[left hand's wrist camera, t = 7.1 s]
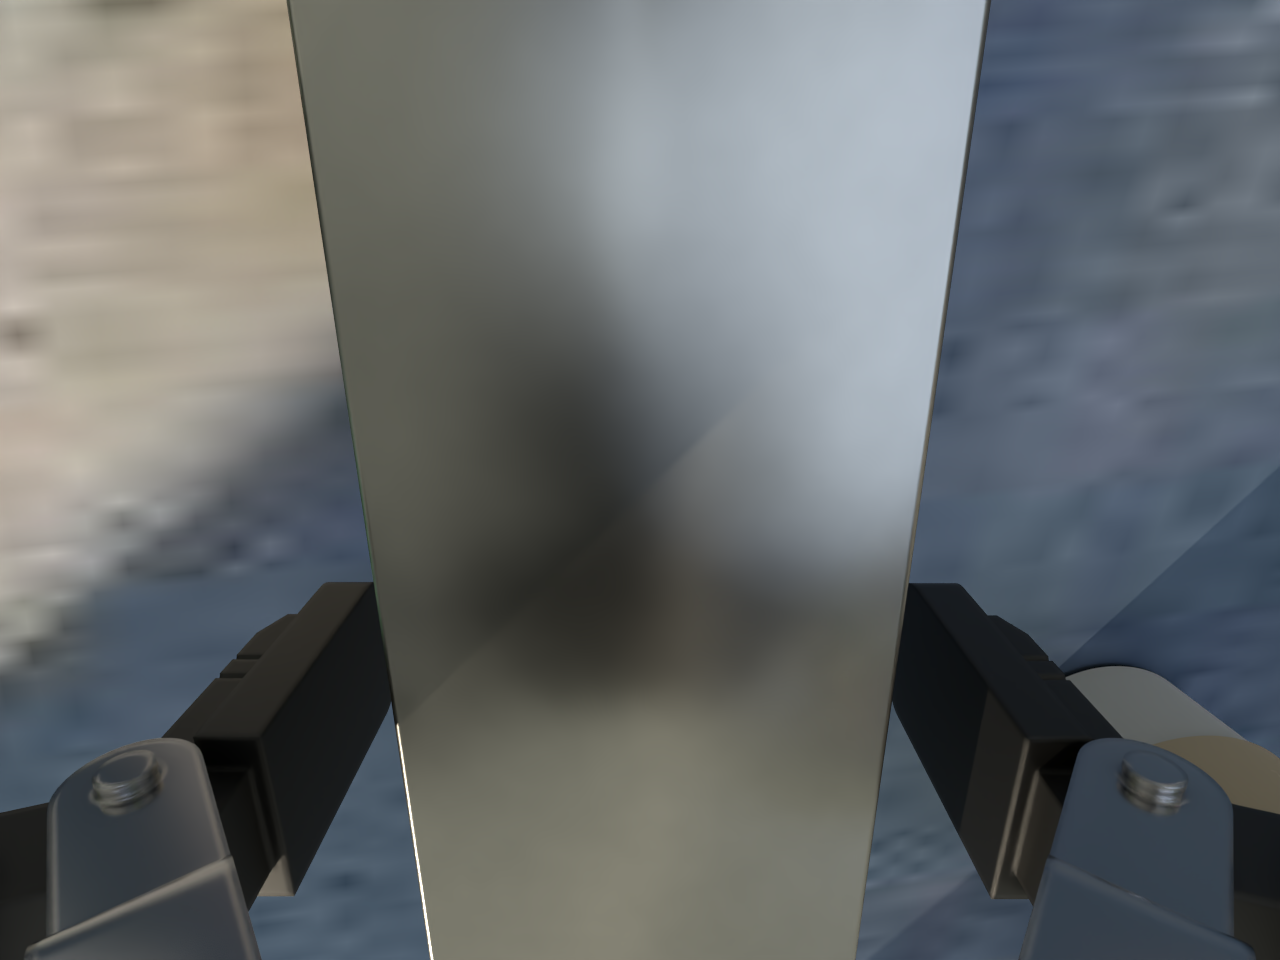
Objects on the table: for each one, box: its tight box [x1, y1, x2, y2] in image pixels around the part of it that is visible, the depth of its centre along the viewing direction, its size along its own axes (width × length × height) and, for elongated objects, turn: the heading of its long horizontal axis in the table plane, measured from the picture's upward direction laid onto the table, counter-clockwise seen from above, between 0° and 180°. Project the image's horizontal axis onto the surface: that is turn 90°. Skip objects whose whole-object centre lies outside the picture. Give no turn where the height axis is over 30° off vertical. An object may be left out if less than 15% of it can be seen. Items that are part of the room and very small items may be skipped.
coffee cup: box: [1065, 666, 1280, 814], centre depth 20 cm, size 9×9×15 cm
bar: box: [287, 0, 991, 960], centre depth 9 cm, size 23×5×8 cm, turn 0°
